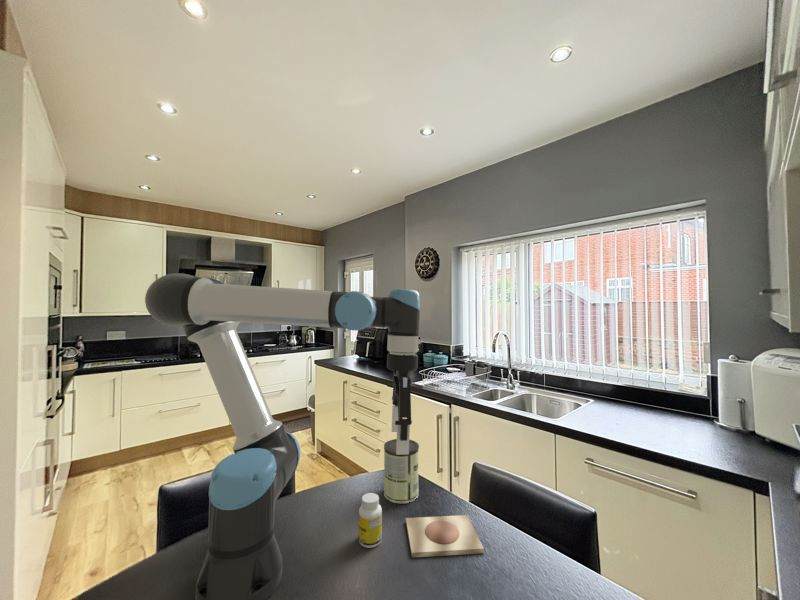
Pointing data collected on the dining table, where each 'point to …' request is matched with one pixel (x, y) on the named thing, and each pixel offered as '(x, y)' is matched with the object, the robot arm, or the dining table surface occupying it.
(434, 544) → the board
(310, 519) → the dining table surface
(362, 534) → the supplement bottle
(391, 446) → the coffee can
